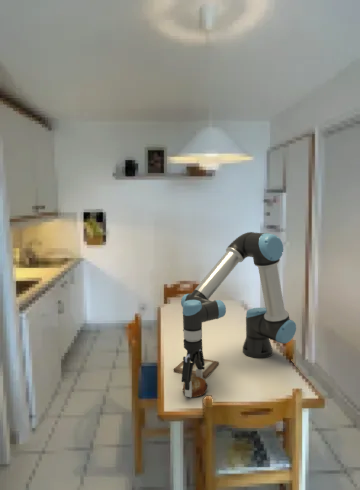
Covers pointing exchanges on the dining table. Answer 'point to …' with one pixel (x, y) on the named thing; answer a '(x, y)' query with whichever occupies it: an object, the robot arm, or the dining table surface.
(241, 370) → the dining table surface
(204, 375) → the walnut frame
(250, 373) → the dining table surface
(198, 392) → the bread roll
